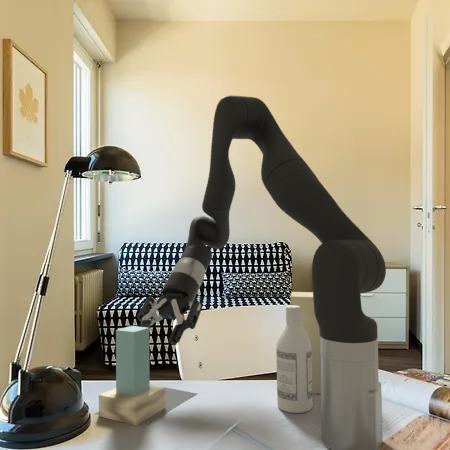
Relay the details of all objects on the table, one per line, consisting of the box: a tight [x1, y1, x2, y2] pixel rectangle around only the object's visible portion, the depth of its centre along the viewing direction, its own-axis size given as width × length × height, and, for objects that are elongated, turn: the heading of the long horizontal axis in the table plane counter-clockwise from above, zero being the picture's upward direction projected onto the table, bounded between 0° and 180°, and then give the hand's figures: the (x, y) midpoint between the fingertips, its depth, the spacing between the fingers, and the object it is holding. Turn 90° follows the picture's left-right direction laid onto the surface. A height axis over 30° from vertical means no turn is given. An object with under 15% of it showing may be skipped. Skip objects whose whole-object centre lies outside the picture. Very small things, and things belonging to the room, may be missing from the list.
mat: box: [94, 386, 198, 427], centre depth 87 cm, size 12×18×1 cm, turn 152°
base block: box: [98, 383, 166, 426], centre depth 83 cm, size 9×9×4 cm
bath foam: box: [275, 305, 314, 414], centre depth 85 cm, size 7×7×20 cm
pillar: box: [115, 325, 150, 397], centre depth 83 cm, size 4×4×12 cm
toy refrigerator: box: [289, 291, 321, 395], centre depth 96 cm, size 8×7×21 cm
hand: (155, 340), depth 90 cm, fingers open, 8 cm apart
